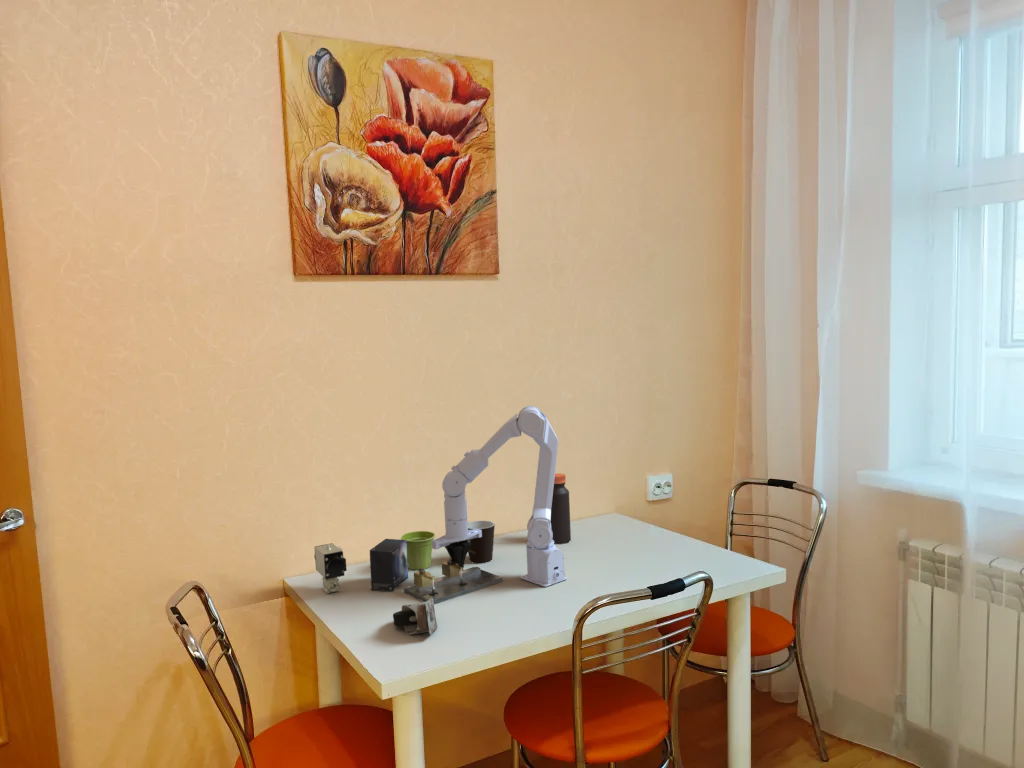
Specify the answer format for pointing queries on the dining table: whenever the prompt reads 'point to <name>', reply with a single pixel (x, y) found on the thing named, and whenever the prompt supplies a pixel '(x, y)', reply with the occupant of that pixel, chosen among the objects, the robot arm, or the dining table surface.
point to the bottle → (560, 511)
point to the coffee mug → (481, 542)
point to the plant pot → (419, 549)
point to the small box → (388, 564)
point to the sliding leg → (451, 569)
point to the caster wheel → (417, 618)
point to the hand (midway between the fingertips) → (458, 570)
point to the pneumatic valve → (330, 565)
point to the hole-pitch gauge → (449, 584)
